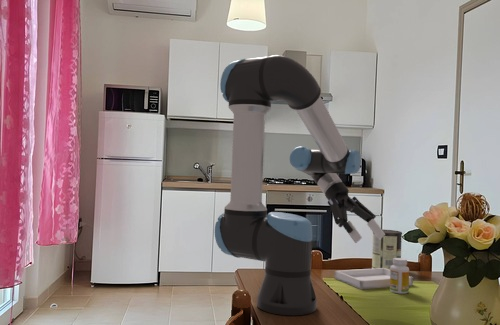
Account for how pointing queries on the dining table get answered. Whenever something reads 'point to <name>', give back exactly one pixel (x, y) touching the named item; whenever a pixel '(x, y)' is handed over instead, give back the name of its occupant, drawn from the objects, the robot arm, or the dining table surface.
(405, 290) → the supplement bottle
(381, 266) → the coffee can
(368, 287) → the white tray
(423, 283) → the dining table surface
